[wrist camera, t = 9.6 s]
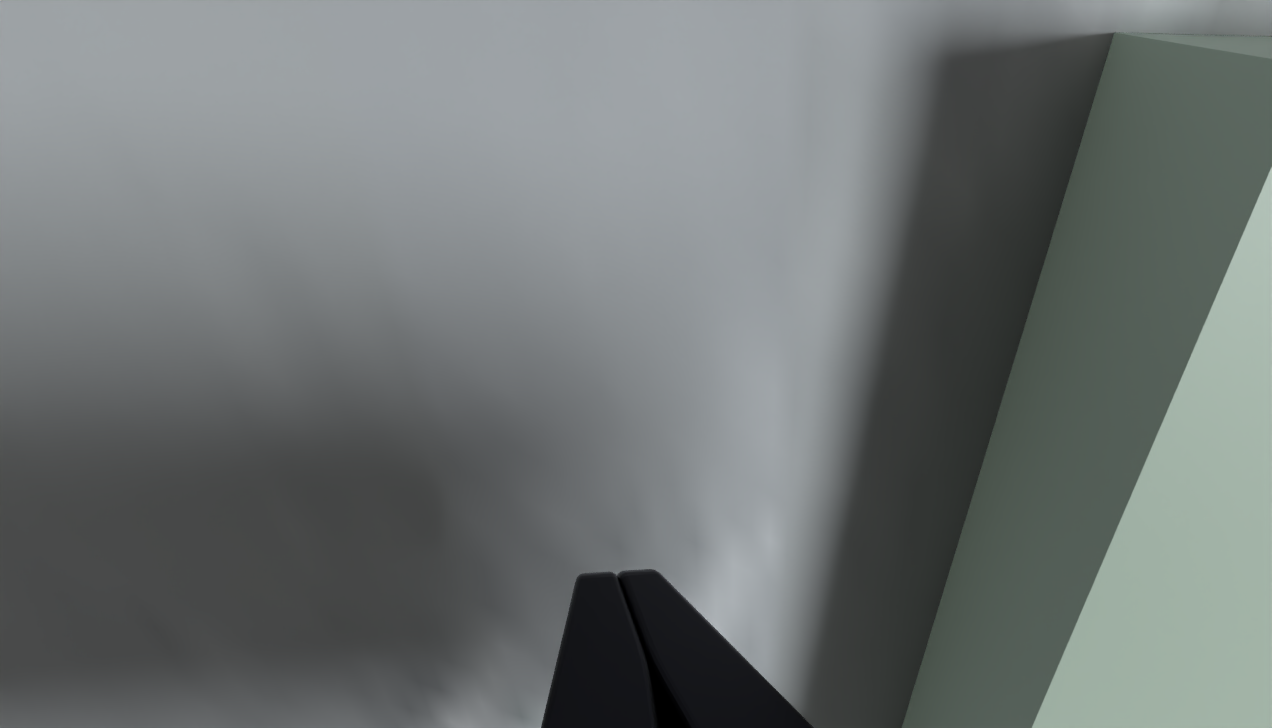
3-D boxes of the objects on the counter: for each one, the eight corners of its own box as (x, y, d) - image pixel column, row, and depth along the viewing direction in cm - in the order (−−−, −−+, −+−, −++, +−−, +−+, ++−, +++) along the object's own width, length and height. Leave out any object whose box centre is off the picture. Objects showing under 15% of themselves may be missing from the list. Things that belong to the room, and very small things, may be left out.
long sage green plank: (1116, 704, 15) (1230, 837, 13) (878, 746, 14) (958, 898, 12) (1446, 37, 10) (1749, 72, 7) (1089, 28, 9) (1314, 67, 6)
